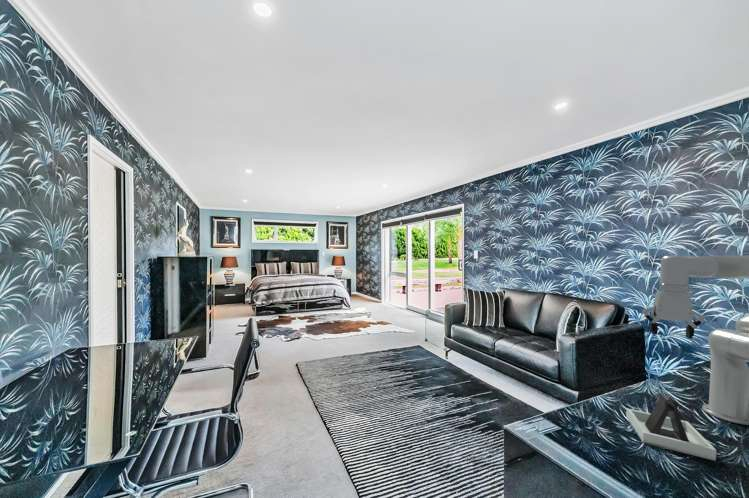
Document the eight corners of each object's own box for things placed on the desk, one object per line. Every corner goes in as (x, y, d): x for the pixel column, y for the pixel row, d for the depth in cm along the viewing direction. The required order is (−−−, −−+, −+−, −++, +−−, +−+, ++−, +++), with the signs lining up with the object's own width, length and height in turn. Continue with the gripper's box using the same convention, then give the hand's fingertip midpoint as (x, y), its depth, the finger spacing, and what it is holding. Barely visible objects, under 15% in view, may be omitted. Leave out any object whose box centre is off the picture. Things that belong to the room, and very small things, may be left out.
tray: (687, 430, 102) (687, 421, 102) (715, 460, 87) (716, 450, 87) (626, 416, 109) (626, 408, 109) (642, 442, 94) (643, 432, 94)
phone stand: (681, 434, 99) (682, 396, 99) (689, 443, 93) (691, 404, 93) (644, 425, 103) (646, 389, 103) (650, 434, 97) (652, 396, 97)
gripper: (700, 290, 113) (698, 337, 113) (640, 286, 121) (638, 329, 121) (711, 292, 107) (709, 342, 107) (647, 287, 114) (644, 334, 114)
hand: (671, 335), depth 114 cm, fingers open, 9 cm apart
